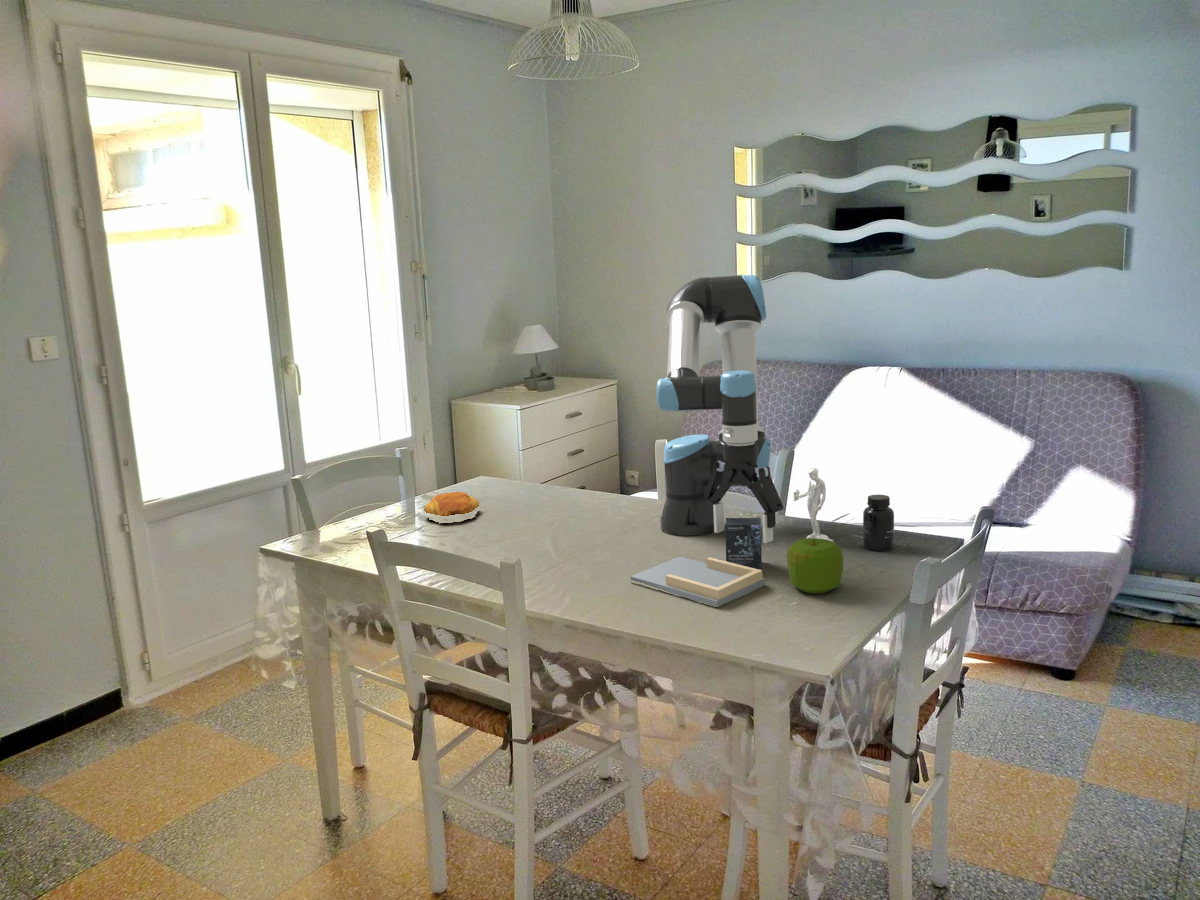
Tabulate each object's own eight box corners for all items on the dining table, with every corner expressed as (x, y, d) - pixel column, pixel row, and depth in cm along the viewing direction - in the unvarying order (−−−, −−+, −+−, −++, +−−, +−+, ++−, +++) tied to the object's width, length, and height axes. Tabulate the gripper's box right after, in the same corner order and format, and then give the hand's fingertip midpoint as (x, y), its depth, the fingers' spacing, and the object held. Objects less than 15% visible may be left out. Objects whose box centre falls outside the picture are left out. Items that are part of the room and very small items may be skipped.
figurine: (792, 539, 229) (790, 467, 225) (816, 534, 231) (815, 462, 227) (812, 549, 221) (810, 474, 217) (836, 544, 224) (836, 469, 220)
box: (726, 570, 211) (724, 524, 209) (726, 561, 216) (725, 517, 214) (762, 570, 210) (760, 524, 207) (761, 561, 215) (760, 516, 213)
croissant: (427, 521, 273) (420, 494, 271) (481, 508, 275) (474, 481, 273) (427, 534, 259) (420, 506, 257) (483, 520, 261) (476, 492, 259)
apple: (853, 586, 197) (852, 535, 195) (824, 601, 190) (823, 549, 187) (807, 575, 205) (806, 526, 203) (777, 589, 198) (776, 539, 195)
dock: (630, 582, 207) (629, 567, 206) (679, 562, 218) (679, 548, 217) (716, 608, 190) (715, 591, 189) (765, 585, 201) (764, 569, 200)
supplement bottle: (895, 552, 216) (895, 500, 213) (864, 551, 217) (863, 501, 214) (892, 542, 222) (892, 492, 220) (862, 542, 224) (861, 493, 221)
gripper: (685, 440, 213) (689, 531, 218) (776, 451, 196) (779, 550, 200) (707, 434, 218) (710, 523, 223) (798, 444, 201) (800, 541, 205)
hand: (743, 536), depth 211 cm, fingers open, 13 cm apart
